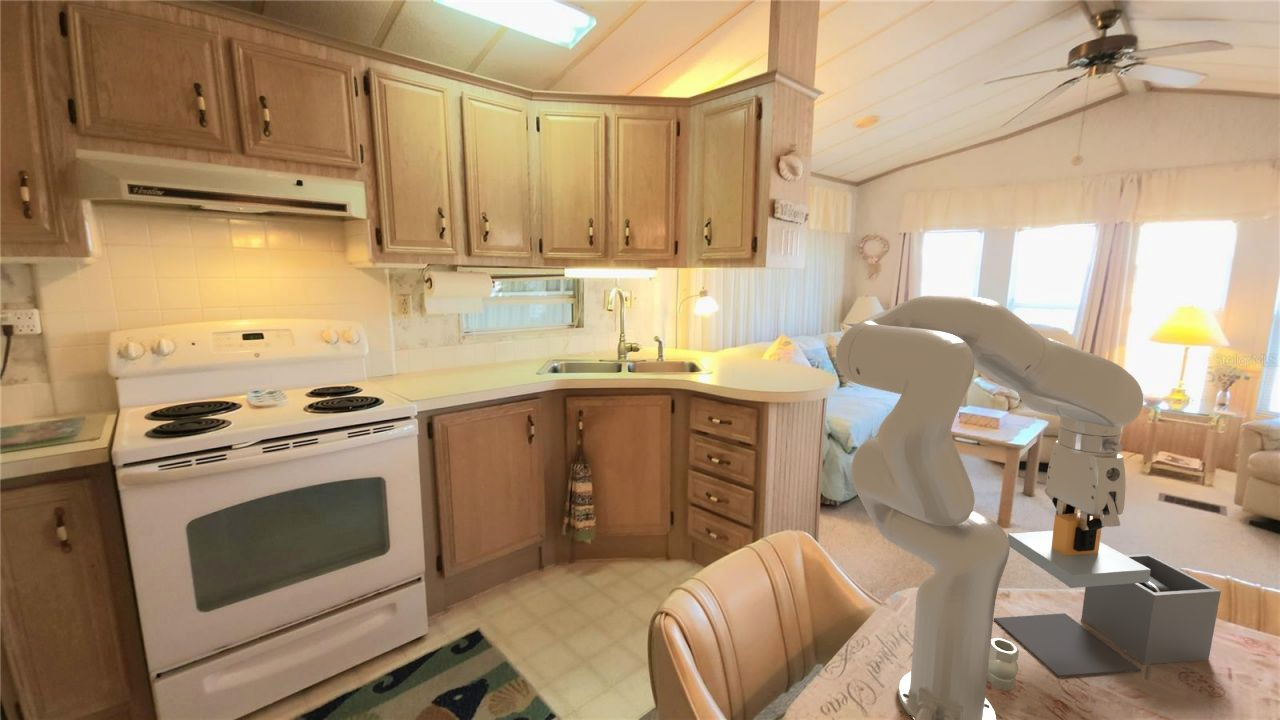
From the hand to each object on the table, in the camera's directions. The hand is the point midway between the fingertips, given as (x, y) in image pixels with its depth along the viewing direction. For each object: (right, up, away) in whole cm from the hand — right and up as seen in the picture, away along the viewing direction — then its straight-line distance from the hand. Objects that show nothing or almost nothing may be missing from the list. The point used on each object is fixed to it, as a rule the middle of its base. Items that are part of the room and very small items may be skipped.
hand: (1075, 544), depth 87 cm
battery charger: (+15, -18, +4) cm, 24 cm away
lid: (0, -3, +1) cm, 3 cm away
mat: (0, -18, +3) cm, 19 cm away
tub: (+15, -18, +4) cm, 24 cm away
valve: (-16, -20, -1) cm, 25 cm away
